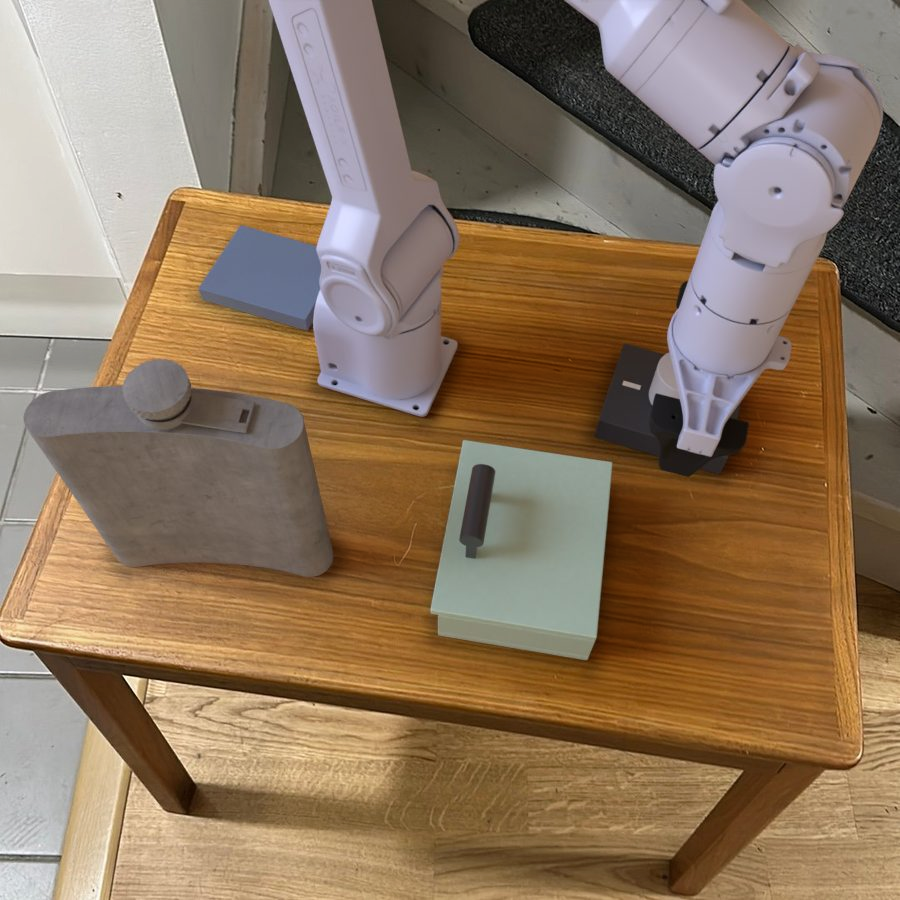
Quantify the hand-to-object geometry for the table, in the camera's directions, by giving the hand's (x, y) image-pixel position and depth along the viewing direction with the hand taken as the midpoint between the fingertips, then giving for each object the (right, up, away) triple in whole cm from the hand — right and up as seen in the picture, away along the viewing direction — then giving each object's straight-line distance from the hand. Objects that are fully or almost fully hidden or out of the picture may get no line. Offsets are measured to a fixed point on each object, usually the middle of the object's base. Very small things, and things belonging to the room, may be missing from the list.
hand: (685, 421), depth 62 cm
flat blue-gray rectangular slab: (-31, +13, +19) cm, 39 cm away
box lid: (-11, -8, +2) cm, 13 cm away
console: (+2, +1, +12) cm, 12 cm away
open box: (-10, -10, +5) cm, 15 cm away
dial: (+2, +2, +10) cm, 10 cm away
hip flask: (-32, -9, +6) cm, 34 cm away
